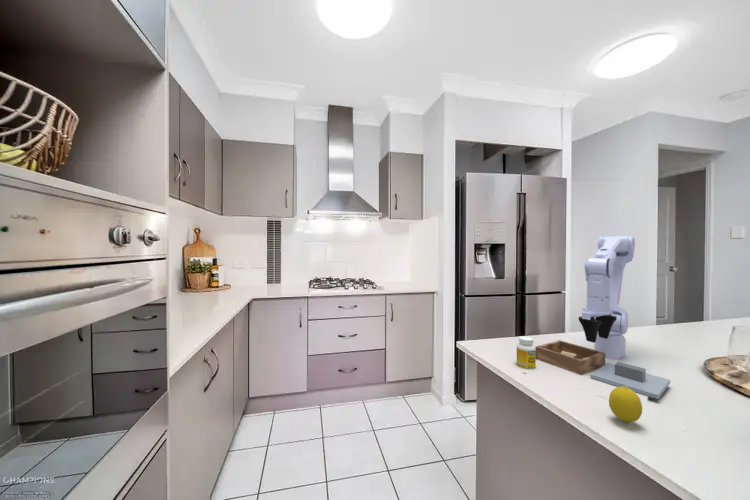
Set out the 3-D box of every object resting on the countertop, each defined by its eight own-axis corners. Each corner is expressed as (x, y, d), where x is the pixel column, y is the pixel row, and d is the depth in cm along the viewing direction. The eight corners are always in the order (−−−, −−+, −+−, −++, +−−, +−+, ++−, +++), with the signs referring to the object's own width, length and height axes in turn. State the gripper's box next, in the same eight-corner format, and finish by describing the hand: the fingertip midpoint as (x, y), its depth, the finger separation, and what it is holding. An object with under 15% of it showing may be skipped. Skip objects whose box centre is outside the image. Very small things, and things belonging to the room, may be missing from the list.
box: (559, 354, 104) (559, 340, 104) (605, 368, 92) (605, 353, 92) (535, 361, 98) (535, 346, 97) (581, 378, 85) (581, 361, 85)
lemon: (602, 415, 67) (602, 381, 66) (624, 414, 67) (625, 380, 67) (624, 431, 61) (625, 393, 61) (649, 429, 62) (650, 392, 61)
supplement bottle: (522, 363, 96) (522, 334, 95) (538, 369, 91) (539, 339, 91) (512, 367, 93) (513, 337, 93) (529, 373, 88) (530, 342, 88)
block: (562, 356, 99) (562, 351, 99) (576, 360, 96) (576, 354, 96) (559, 360, 96) (559, 354, 96) (573, 363, 93) (573, 357, 93)
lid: (607, 370, 91) (607, 353, 91) (670, 388, 80) (670, 368, 80) (590, 383, 83) (590, 363, 83) (657, 405, 72) (658, 383, 72)
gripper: (595, 292, 98) (594, 332, 98) (571, 296, 91) (570, 339, 91) (621, 296, 92) (620, 338, 92) (597, 299, 85) (596, 346, 85)
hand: (597, 339), depth 91 cm, fingers open, 7 cm apart
